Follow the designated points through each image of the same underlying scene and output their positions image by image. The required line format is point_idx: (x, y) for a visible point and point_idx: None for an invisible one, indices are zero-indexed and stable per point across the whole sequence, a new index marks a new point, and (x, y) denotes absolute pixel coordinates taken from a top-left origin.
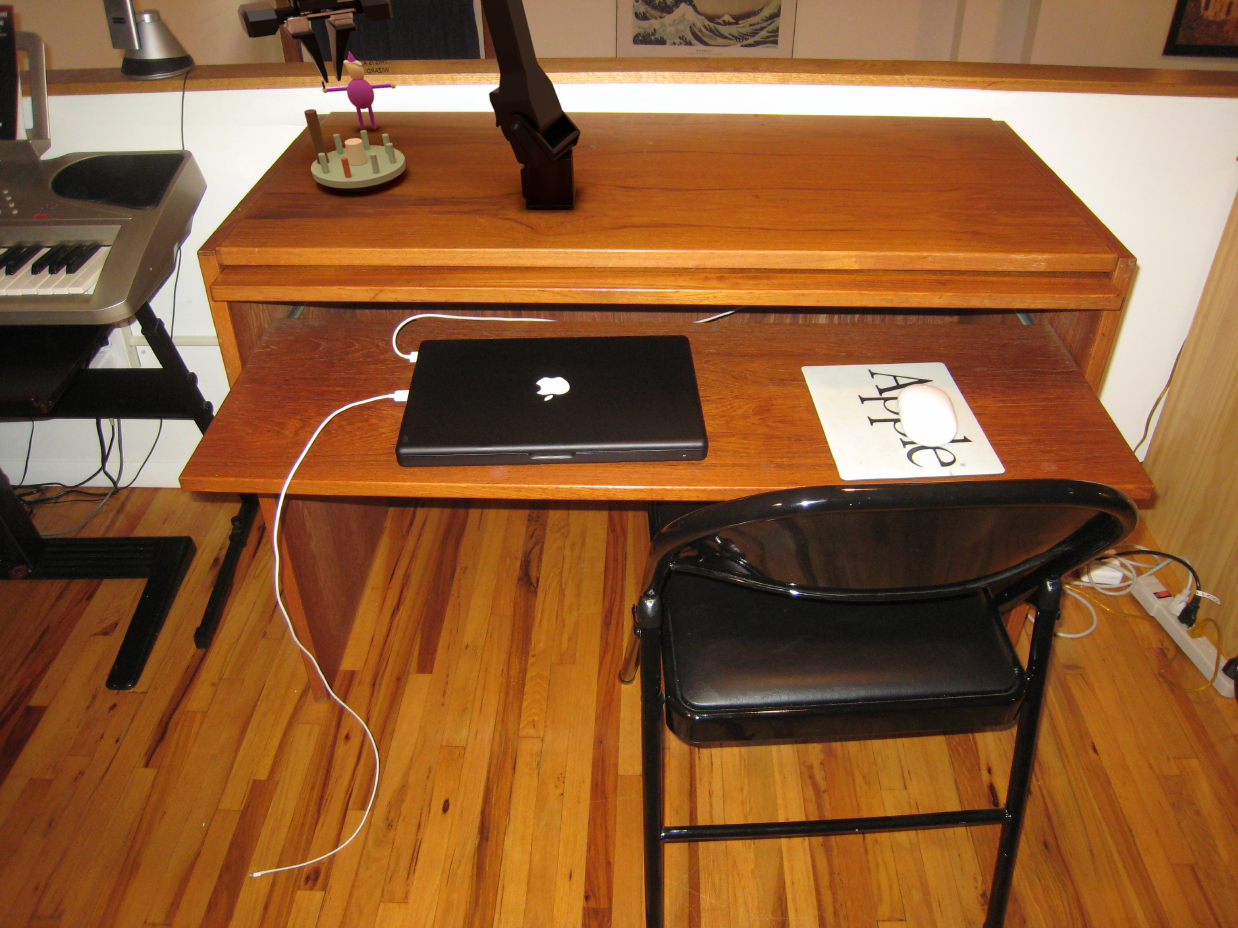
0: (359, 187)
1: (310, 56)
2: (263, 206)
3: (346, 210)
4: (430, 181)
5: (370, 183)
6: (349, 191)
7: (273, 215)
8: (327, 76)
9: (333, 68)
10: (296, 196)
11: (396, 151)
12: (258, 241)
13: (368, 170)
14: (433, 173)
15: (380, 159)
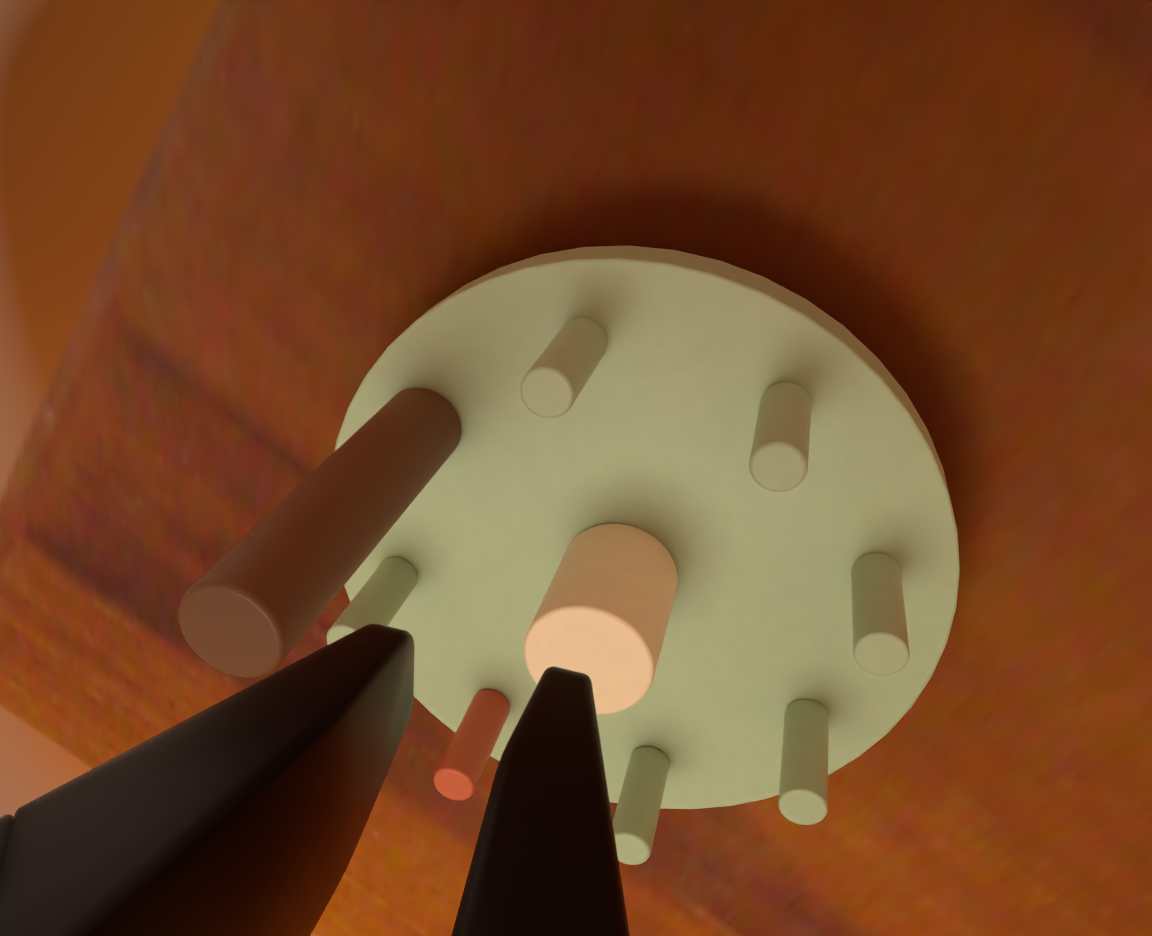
0: None
1: (16, 819)
2: (102, 472)
3: (438, 757)
4: (949, 786)
5: None
6: None
7: (140, 588)
8: (367, 812)
9: (504, 753)
10: (261, 473)
11: (937, 586)
12: (77, 740)
13: (622, 711)
14: (1040, 721)
15: (765, 628)
